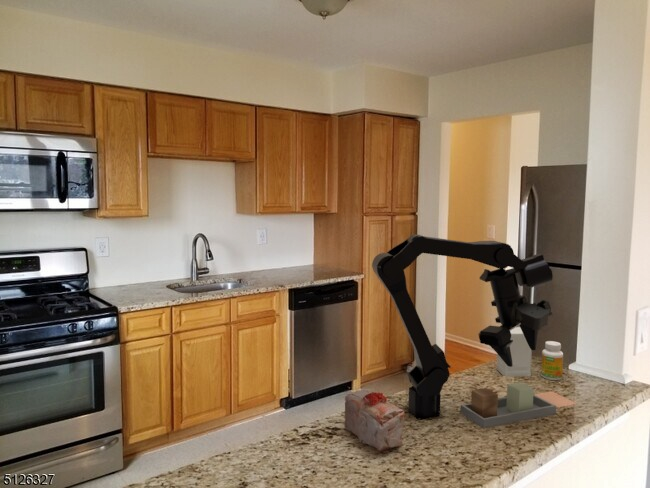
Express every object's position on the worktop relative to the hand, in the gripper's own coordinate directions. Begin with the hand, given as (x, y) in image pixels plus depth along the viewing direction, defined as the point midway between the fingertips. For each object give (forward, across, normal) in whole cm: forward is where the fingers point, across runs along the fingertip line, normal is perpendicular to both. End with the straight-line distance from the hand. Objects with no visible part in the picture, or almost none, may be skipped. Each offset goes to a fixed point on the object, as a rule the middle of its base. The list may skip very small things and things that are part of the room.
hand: (522, 357), depth 117 cm
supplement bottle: (+18, +23, +11) cm, 31 cm away
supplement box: (+15, +17, +18) cm, 29 cm away
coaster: (+15, +8, +1) cm, 17 cm away
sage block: (+12, -4, +1) cm, 12 cm away
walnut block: (+9, -14, +3) cm, 17 cm away
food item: (+3, -39, +10) cm, 40 cm away
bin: (+11, -7, +2) cm, 14 cm away
